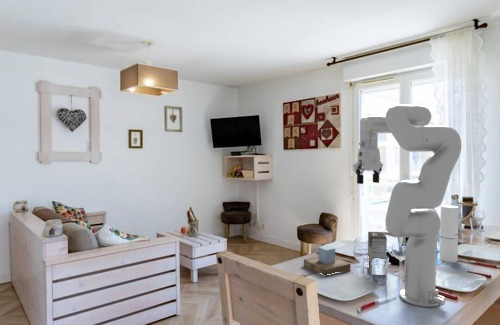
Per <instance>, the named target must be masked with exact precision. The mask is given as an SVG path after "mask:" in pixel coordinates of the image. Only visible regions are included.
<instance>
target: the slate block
mask: <svg viewBox="0 0 500 325" xmlns="http://www.w3.org/2000/svg"><path fill="white" fill-rule="evenodd" d="M318 256H319V257H318ZM318 256H317V257H318V261H320V262H322V263H324V264H330V263H334V262H335V257H336V248H334V247H332V246H330V245H323V246H318Z"/></svg>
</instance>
